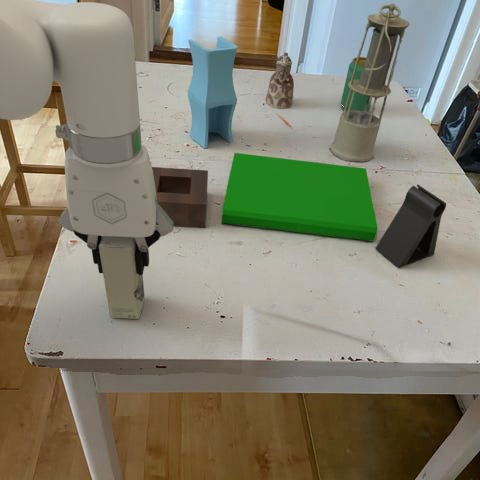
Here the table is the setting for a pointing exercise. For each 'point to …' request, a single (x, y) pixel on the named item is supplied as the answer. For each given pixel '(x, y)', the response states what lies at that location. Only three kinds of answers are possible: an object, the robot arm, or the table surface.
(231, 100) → the vase
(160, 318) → the table surface
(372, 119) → the lamp
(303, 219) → the book
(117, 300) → the box
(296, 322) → the table surface
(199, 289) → the table surface
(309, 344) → the table surface
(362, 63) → the beverage can
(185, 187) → the brown frame
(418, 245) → the phone stand
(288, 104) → the figurine
